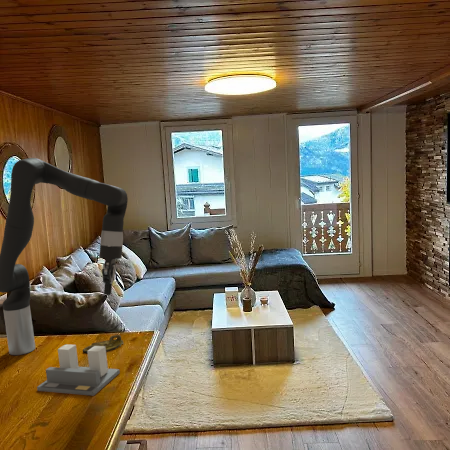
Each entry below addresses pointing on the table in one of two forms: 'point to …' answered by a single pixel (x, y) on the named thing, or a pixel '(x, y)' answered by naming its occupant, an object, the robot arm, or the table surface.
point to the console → (76, 380)
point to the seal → (107, 344)
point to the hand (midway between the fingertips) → (107, 294)
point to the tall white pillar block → (98, 359)
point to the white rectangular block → (68, 357)
